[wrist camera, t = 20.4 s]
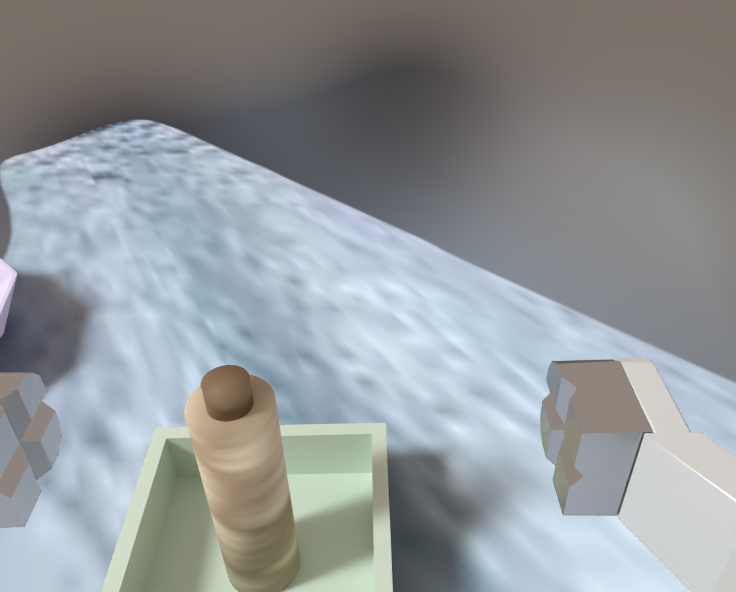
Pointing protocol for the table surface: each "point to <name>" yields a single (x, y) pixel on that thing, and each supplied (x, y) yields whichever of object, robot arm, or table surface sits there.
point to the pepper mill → (245, 477)
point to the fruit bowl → (5, 292)
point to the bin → (309, 503)
